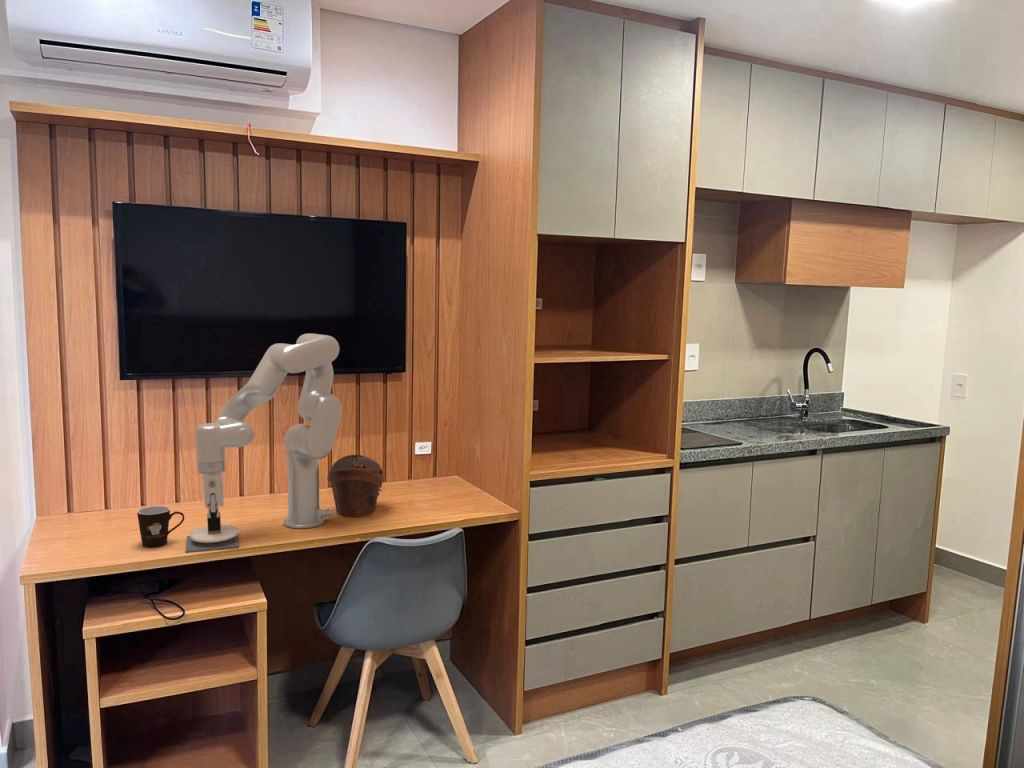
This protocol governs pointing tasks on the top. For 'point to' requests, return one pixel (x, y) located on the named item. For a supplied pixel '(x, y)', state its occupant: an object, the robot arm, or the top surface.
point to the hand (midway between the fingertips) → (214, 527)
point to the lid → (214, 533)
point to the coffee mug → (155, 525)
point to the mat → (210, 545)
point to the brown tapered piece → (355, 485)
